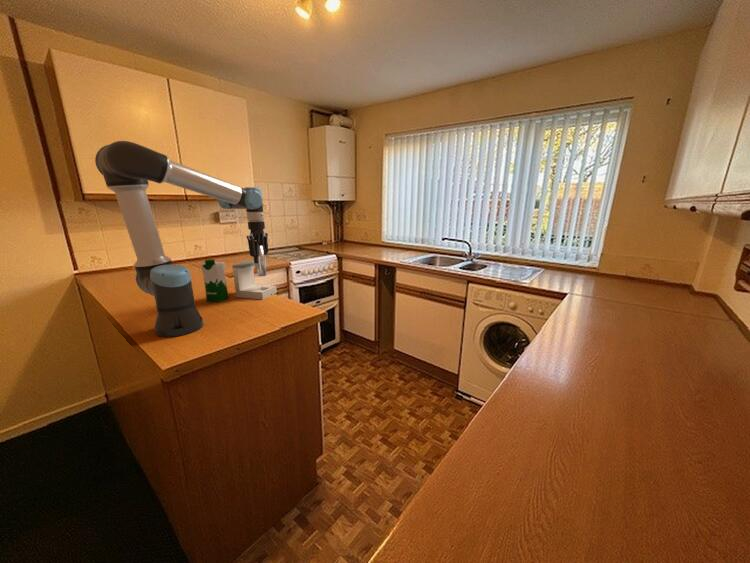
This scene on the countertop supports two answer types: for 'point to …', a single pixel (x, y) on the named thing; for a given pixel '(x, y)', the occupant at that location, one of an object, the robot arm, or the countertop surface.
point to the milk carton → (214, 280)
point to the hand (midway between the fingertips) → (261, 268)
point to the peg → (261, 261)
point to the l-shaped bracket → (249, 282)
